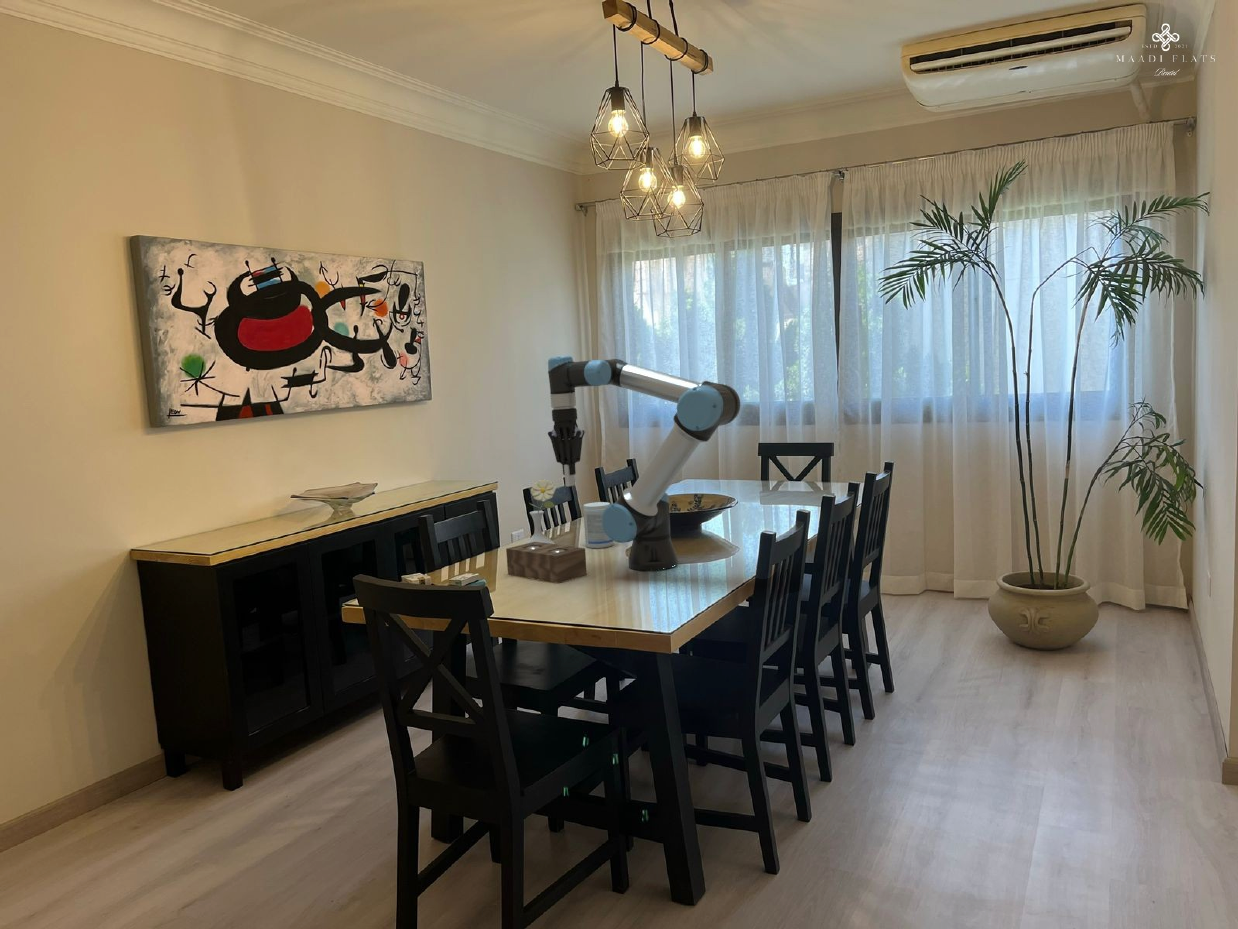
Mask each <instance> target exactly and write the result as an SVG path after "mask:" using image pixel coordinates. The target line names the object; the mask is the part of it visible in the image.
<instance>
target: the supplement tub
mask: <svg viewBox="0 0 1238 929" xmlns="http://www.w3.org/2000/svg"><path fill="white" fill-rule="evenodd" d="M609 505H611V503H610V502H606V501H605V502H604V501H598V502H588V503H584V504H583V508H582V510H583V523H584V526H583V527H584V537H585V538H584V539H585V546H586V547H587V548H588V549H604V548H609V547H612V546H613V544H614V541H613V540H611V539H610V538H609V537H608V536H607V535H606V533H605V531H604V529H603V525H602V514H603V511H604V510H605V509H606V508H607V507H608V506H609Z"/></svg>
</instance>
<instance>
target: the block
mask: <svg viewBox="0 0 1238 929" xmlns="http://www.w3.org/2000/svg"><path fill="white" fill-rule="evenodd" d="M529 546H539V548H535V549H528V548H527V547H529ZM558 549H562V550H565V551H562V552H559V553H556V552H551V551H552V550H558ZM505 551H506V564H507V565H506V566H507V567H506V568H507V575H509V576H514V575H516V576H515V577H520V578H527V579H531V578H534V579H533V580H537V579H539V580H538V581H543V580H544V582H548V581H549V583H554V582H557V583H556V584H559V583H558V582H560V583H563V582H567V581H570V580H573V579H576V578H580V577H583V575H584V576H587V575H588V574H587V558H586V554H587V553H586V548H585V547H578V546H571V545H564V544H556V543H555V544H550V543H542V542H531V543H527V544H525V543H524V544H520V545H516V546H512V547H508V548H506V549H505ZM572 578H573V579H572ZM569 579H570V580H569ZM566 580H567V581H566Z"/></svg>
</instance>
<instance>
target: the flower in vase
mask: <svg viewBox="0 0 1238 929" xmlns="http://www.w3.org/2000/svg"><path fill="white" fill-rule="evenodd" d="M555 492H556V487H555V485H554V484H553V482H552V481H551V480H548V479H541V480H540V479H539V480H537V481H536V482H534V483H533V485H532V487H531V489H530V494H531V496H532V497H533V499H534V500H537V501H540V502H542V503H541V505H540V507H539V506H537V505H536V504H532V503H530V506H532V507H535V508H537V509H538V510H533V511H530V512H529V514H530V516H531V517H532V520H533V524H534V533H533V535H532V536H531V537H530V538H529V539H528V540H527V541H526V542H524V544H527V543H531V542H542V543H550V544H556V543H555V542H554V541H552V539H550V538H549V537H548V536H546V535H545V534H544V533H543V531H542V518H543V515H544V513H545V511H543V510H541V509H542V507H543V506H544V508H546V509H552V508H555V507H556V505H555V504H554V503H553V502H552V501H550V500H551V499H552V498H553V497H554V494H555Z"/></svg>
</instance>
